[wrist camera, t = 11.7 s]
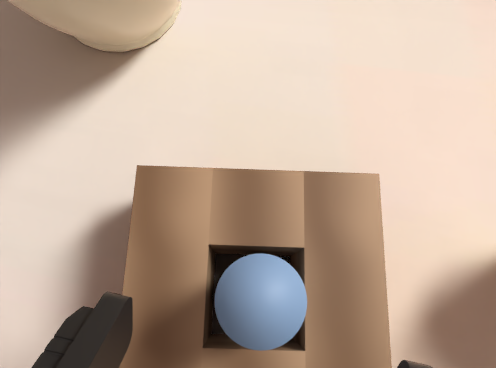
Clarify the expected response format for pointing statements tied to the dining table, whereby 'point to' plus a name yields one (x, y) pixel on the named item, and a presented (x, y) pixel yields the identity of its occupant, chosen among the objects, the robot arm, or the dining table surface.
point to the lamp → (106, 20)
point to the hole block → (254, 242)
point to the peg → (260, 301)
